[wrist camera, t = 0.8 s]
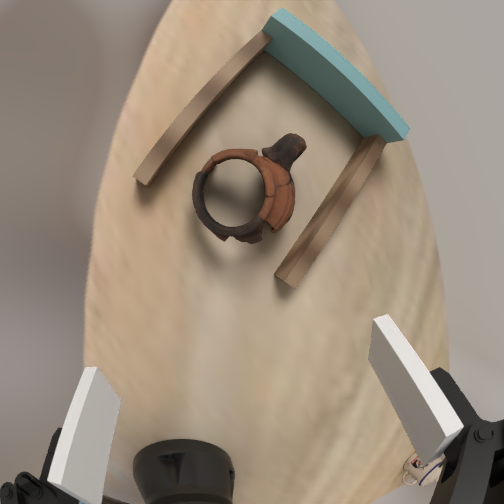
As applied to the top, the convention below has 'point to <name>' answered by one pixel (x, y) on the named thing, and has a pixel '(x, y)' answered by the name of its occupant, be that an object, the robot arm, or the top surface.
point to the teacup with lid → (422, 471)
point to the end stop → (332, 77)
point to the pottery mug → (276, 188)
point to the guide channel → (332, 204)
